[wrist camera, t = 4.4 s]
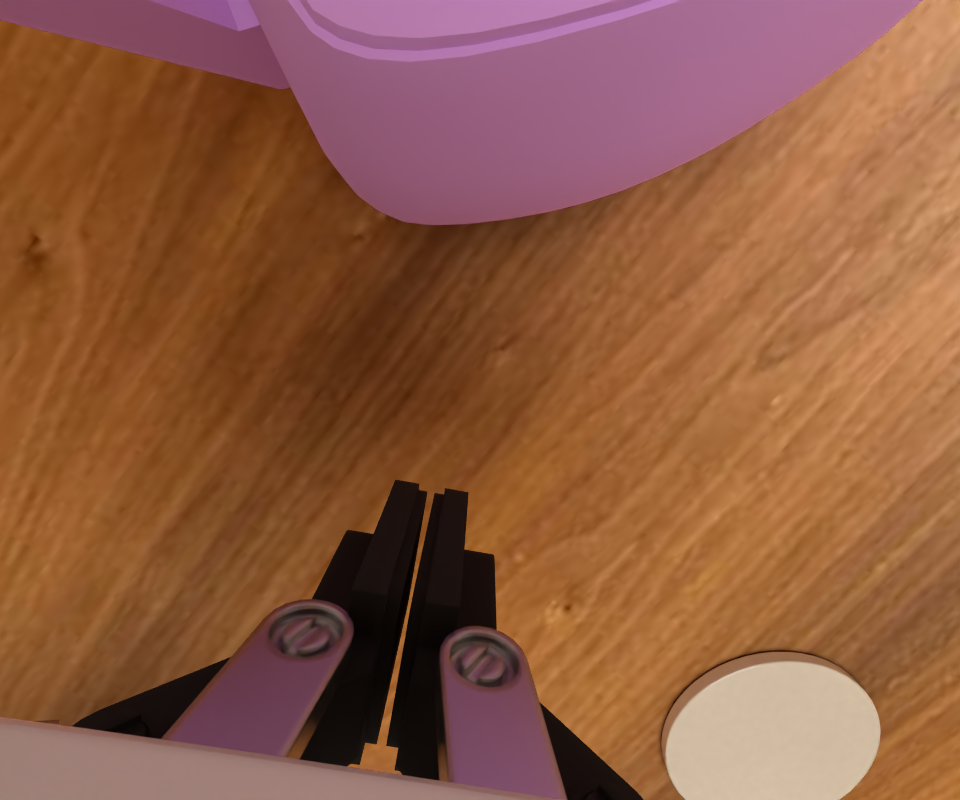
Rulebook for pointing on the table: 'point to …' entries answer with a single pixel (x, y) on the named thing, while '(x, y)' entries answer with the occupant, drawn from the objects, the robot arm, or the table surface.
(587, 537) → the table surface
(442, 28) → the teapot
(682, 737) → the coaster
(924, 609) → the table surface
